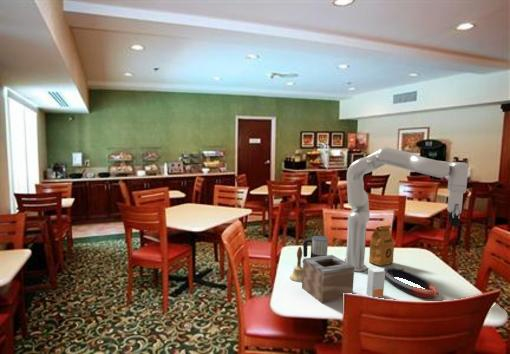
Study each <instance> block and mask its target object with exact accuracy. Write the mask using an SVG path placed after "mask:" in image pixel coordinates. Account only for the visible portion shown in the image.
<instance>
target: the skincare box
mask: <svg viewBox="0 0 510 354" xmlns="http://www.w3.org/2000/svg"><path fill="white" fill-rule="evenodd" d="M367 270H368V271H367V281H366V295H368V297H370V296H374V297H373V298H383V297H384V289H385V280H386V277H385V271H384V269H382V268H381V267H372V268H367Z"/></svg>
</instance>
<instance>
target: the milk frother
mask: <svg viewBox="0 0 510 354" xmlns="http://www.w3.org/2000/svg"><path fill="white" fill-rule="evenodd" d="M329 241H330V239H329V238H328V237H327V236H325V235H324V236H323V235H314V236H311V238H309V237H308V238H307V239H305V240H304V241H303V245H302V246H303V248H302V257H304V258H308V245H309V244H310V243H311V244H310V245H311V247H310V258H312V257H319V256H327V255H328V245H329V244H328V243H329ZM301 262H302V263H303V260H301Z"/></svg>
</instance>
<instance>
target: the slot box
mask: <svg viewBox="0 0 510 354" xmlns="http://www.w3.org/2000/svg"><path fill="white" fill-rule="evenodd" d="M302 261H303V262H302V268H303V275H302V282H301V289H303V290H304V291H306V293H308V294H309V295H311V296H312V297H313V298H314V299H316V300H317V301H318V302H320V303H321V304H327V303H332V302H336V301H341V300H344V299H343V293H353V294H354V292H353V291H354V278H355V277H354V275H355V271H354V266H352V265H350V264H348V263H346V262H345V260H344V259H343V260H342V259H341V258H339V257H337V256H335V255H334V254H327V256H319V257H312V258H311V257H304V258H303V260H302Z"/></svg>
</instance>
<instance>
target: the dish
mask: <svg viewBox="0 0 510 354" xmlns="http://www.w3.org/2000/svg"><path fill="white" fill-rule="evenodd" d="M383 270H384V271H385V280H387V281H388V282H389V283H390V284H391V285H393V287H395V288H398V289H399V290H401V291H403V292H404V293H407V294H409V293H410V295H412V294H413V295H412V296H416V297H420V296H421V297H420V298H426V299H428V298H429V299H430V298H435V297H437V296H439V295H440V292H439V290H438V288H437V287H436V286H435V285H434V283H432V282H430V281H428V280H427V279H425V278H423V277H421V276H418V275H416V274H414V273H412V272H410V271H407V270H405V269H404V268H401V269H400V268H395V267H384V269H383ZM394 277H399V278H403V279H406V280H408V281H411V282H413V283H415V284H418V285H420V286H421V287H423V288H425V289H422V288H417V287H413V286H410V285H408V284H405V283H403V282H401V281H399V280H397V279H395V278H394Z"/></svg>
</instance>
